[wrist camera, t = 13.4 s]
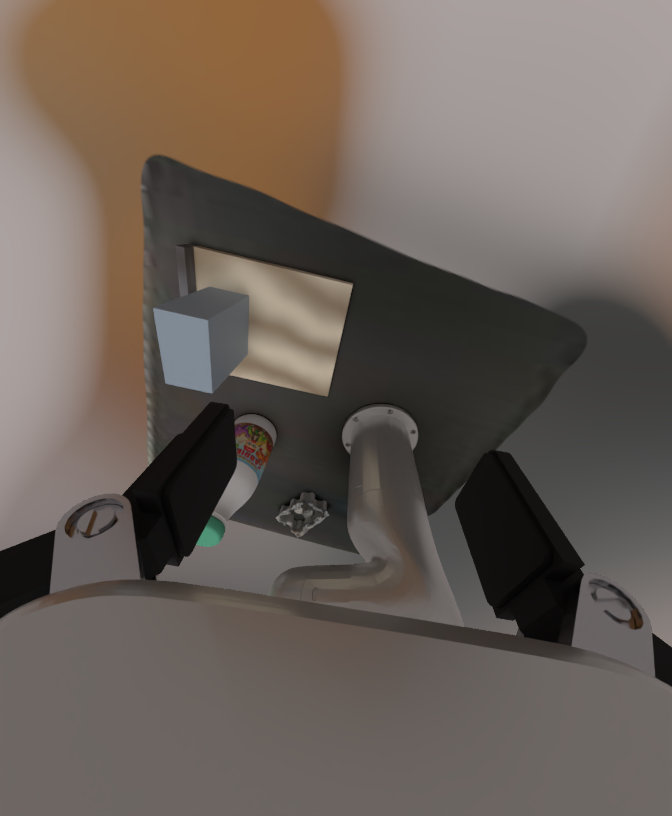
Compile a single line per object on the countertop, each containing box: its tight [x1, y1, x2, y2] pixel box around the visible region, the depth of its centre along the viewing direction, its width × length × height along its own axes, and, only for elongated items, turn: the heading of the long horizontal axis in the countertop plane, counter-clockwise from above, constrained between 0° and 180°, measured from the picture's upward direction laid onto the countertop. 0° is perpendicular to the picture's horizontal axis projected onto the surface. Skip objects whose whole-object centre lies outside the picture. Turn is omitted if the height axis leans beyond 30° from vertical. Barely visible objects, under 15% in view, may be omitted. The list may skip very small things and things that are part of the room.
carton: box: [153, 286, 249, 393], centre depth 32 cm, size 8×5×11 cm, turn 168°
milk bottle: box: [197, 414, 277, 547], centre depth 40 cm, size 8×8×20 cm
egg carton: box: [275, 492, 329, 538], centre depth 58 cm, size 11×8×4 cm
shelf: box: [175, 244, 353, 397], centre depth 36 cm, size 16×20×4 cm
